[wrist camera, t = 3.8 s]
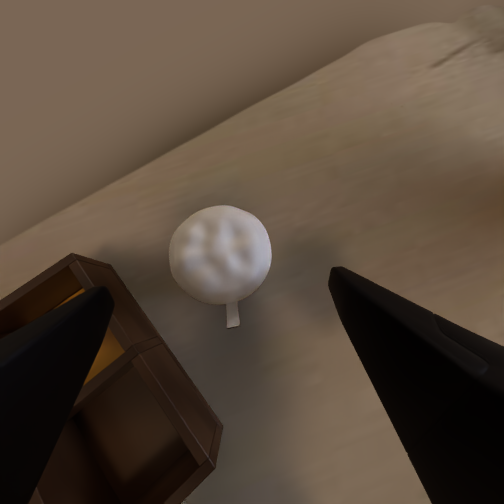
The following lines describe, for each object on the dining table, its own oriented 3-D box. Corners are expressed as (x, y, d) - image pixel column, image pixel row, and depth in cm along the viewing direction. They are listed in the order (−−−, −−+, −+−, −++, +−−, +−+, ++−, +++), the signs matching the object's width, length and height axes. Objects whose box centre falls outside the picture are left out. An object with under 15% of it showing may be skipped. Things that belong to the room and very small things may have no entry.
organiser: (223, 425, 15) (215, 468, 11) (16, 626, 12) (-94, 781, 8) (110, 264, 17) (71, 252, 13) (-83, 400, 14) (-203, 434, 11)
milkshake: (210, 321, 16) (162, 345, 7) (199, 255, 18) (143, 194, 8) (267, 307, 17) (299, 311, 7) (252, 244, 18) (261, 173, 8)
